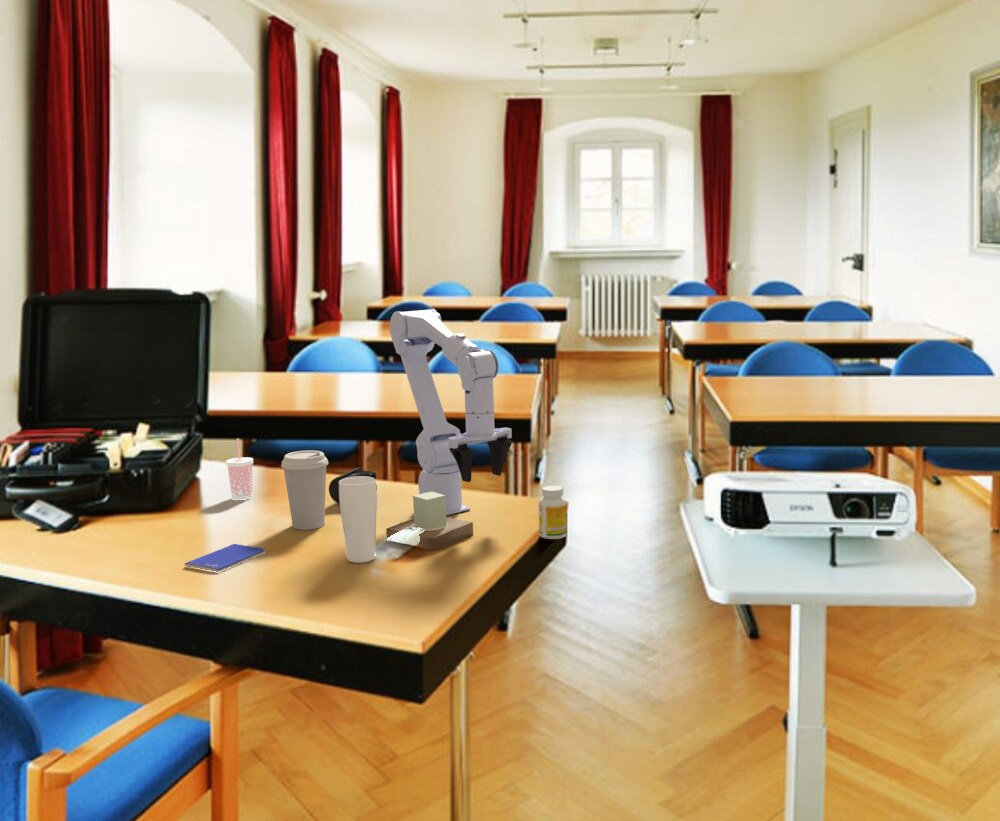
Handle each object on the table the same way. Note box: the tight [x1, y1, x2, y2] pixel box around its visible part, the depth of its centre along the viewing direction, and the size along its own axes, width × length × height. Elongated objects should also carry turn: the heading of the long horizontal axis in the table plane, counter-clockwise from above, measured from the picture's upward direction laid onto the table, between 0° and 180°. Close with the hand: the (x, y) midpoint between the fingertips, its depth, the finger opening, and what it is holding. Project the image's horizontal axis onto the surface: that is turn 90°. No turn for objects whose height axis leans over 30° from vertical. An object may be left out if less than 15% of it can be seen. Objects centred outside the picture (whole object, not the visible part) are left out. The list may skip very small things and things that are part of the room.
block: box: [412, 491, 447, 530], centre depth 198 cm, size 4×4×6 cm
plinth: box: [385, 517, 474, 551], centre depth 199 cm, size 12×12×2 cm
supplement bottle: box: [538, 485, 568, 540], centre depth 198 cm, size 5×5×10 cm
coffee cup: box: [280, 450, 329, 531], centre depth 209 cm, size 10×10×15 cm
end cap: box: [328, 467, 378, 506], centre depth 228 cm, size 10×7×7 cm
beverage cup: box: [225, 437, 254, 499], centre depth 233 cm, size 6×6×14 cm
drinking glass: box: [339, 476, 378, 564], centre depth 186 cm, size 7×7×15 cm
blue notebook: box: [184, 543, 266, 572], centre depth 189 cm, size 2×8×12 cm
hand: (481, 477), depth 205 cm, fingers open, 7 cm apart
